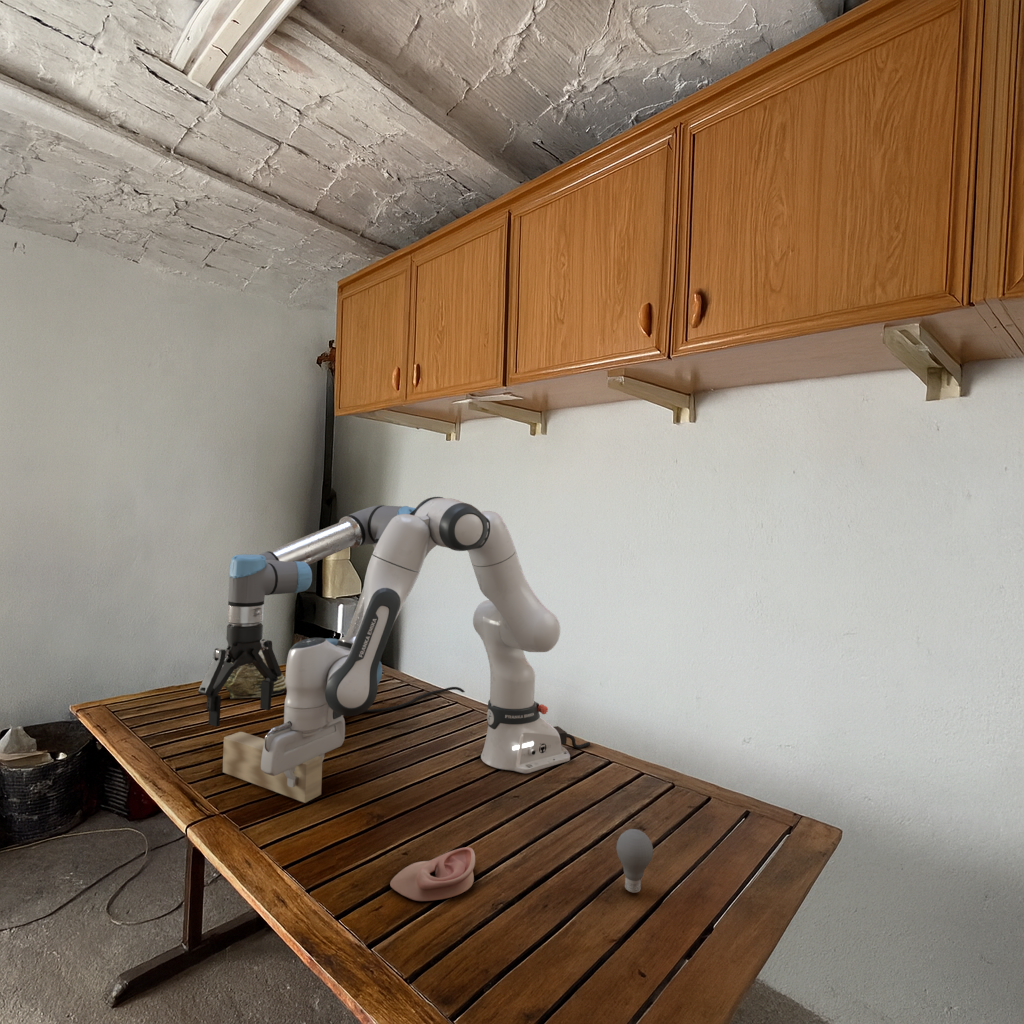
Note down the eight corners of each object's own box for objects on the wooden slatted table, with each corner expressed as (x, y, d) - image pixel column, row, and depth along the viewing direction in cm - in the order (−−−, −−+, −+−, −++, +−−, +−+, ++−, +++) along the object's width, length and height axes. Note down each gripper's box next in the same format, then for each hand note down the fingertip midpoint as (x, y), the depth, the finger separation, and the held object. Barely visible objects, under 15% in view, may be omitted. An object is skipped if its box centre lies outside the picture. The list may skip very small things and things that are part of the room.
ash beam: (222, 772, 143) (223, 737, 143) (239, 765, 147) (240, 731, 147) (305, 803, 131) (306, 764, 131) (321, 794, 135) (322, 757, 135)
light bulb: (610, 879, 108) (613, 822, 108) (644, 879, 109) (647, 822, 109) (619, 902, 102) (622, 840, 102) (655, 901, 103) (658, 840, 103)
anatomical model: (383, 870, 101) (409, 834, 113) (382, 895, 101) (408, 856, 113) (463, 884, 99) (481, 845, 110) (461, 909, 99) (480, 868, 110)
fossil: (218, 695, 195) (220, 647, 195) (278, 685, 208) (279, 640, 207) (228, 703, 189) (230, 653, 188) (289, 692, 201) (290, 645, 201)
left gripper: (206, 633, 130) (201, 736, 131) (299, 618, 152) (295, 706, 153) (183, 628, 134) (178, 728, 134) (277, 614, 156) (273, 700, 156)
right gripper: (276, 733, 123) (274, 804, 124) (350, 705, 141) (348, 767, 142) (254, 727, 126) (252, 795, 127) (329, 700, 144) (327, 760, 145)
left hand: (240, 716), depth 143 cm, fingers open, 13 cm apart
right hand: (303, 780), depth 134 cm, fingers closed on ash beam, 4 cm apart
